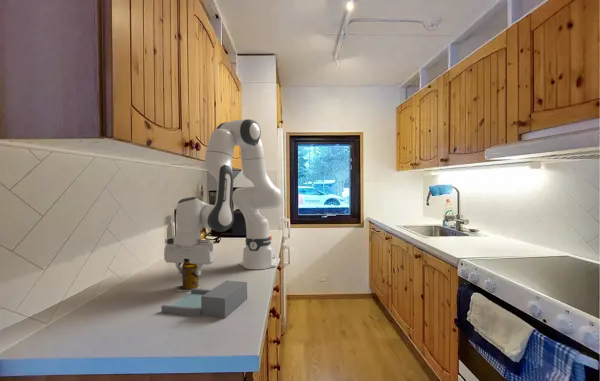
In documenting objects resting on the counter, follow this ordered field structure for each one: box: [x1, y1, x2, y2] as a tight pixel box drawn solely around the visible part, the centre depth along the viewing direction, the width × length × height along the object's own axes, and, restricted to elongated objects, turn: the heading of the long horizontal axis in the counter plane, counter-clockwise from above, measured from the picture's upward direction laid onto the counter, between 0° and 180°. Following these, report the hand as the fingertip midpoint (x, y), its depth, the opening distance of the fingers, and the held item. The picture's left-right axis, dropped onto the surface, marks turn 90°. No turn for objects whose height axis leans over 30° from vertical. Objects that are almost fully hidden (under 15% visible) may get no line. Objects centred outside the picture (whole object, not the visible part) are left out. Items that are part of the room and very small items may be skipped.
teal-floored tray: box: [160, 280, 248, 319], centre depth 105 cm, size 17×22×6 cm
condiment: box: [174, 259, 203, 293], centre depth 122 cm, size 7×8×12 cm
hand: (189, 274), depth 122 cm, fingers closed on condiment, 6 cm apart
